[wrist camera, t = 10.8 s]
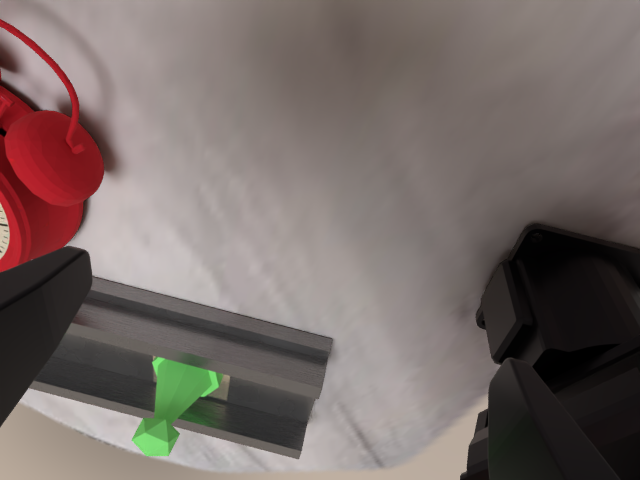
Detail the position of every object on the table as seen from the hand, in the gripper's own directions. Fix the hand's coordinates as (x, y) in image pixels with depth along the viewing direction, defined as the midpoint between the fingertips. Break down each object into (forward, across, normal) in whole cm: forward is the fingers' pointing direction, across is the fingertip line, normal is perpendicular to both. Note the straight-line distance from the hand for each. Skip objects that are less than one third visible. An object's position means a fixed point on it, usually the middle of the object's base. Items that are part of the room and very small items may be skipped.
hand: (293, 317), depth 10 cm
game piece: (+11, +6, +18) cm, 22 cm away
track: (+12, +10, +18) cm, 24 cm away
